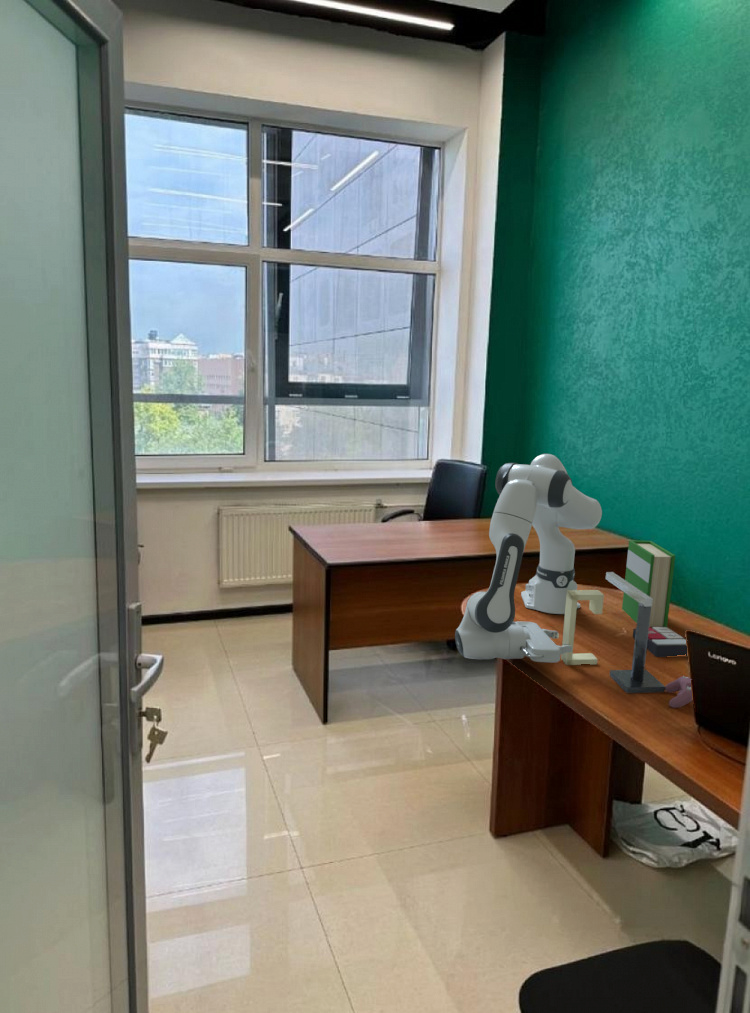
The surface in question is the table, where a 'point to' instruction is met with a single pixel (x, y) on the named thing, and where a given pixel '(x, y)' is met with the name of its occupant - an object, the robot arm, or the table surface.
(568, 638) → the c-shaped bracket
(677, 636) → the calculator
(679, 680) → the video game controller
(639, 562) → the hardback book
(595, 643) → the table surface
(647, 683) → the hook stand
